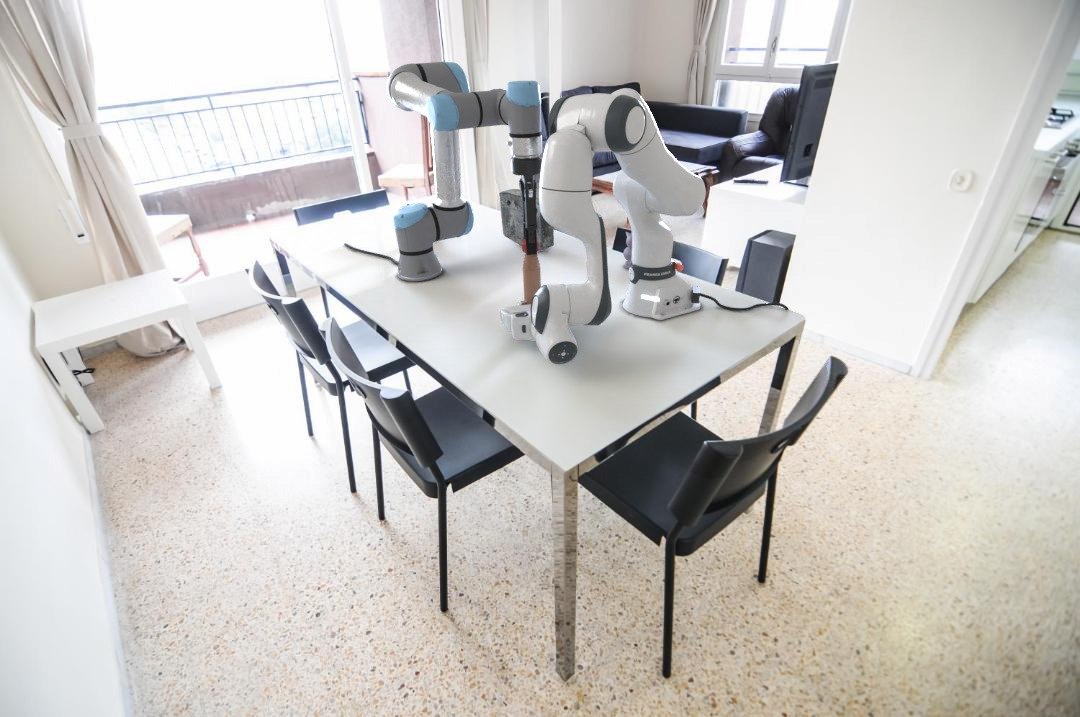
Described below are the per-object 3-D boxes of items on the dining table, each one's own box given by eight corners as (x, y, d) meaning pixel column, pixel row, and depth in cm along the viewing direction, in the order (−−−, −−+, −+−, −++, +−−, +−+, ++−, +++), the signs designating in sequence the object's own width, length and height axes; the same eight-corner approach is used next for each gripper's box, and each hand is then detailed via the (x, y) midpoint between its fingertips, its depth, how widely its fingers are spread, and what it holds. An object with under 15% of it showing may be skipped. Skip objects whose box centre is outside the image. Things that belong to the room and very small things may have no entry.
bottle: (545, 324, 140) (543, 242, 128) (532, 329, 138) (528, 247, 125) (535, 318, 143) (532, 238, 131) (522, 323, 141) (517, 242, 129)
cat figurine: (651, 266, 175) (654, 232, 168) (638, 272, 170) (641, 238, 163) (630, 260, 180) (633, 227, 173) (618, 267, 175) (619, 233, 169)
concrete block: (559, 252, 190) (558, 199, 179) (540, 257, 185) (538, 203, 175) (520, 236, 208) (517, 187, 198) (502, 240, 204) (498, 190, 194)
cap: (529, 246, 132) (528, 237, 131) (542, 249, 130) (541, 239, 128) (519, 251, 129) (518, 241, 128) (532, 254, 127) (532, 244, 125)
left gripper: (507, 150, 124) (513, 241, 136) (513, 163, 109) (519, 263, 122) (537, 148, 125) (540, 239, 137) (547, 161, 110) (549, 261, 122)
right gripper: (584, 306, 127) (567, 286, 138) (505, 318, 123) (495, 296, 134) (583, 328, 130) (567, 306, 142) (507, 340, 126) (497, 317, 138)
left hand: (530, 250), depth 129 cm, fingers open, 4 cm apart
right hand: (532, 301), depth 138 cm, fingers closed on bottle, 5 cm apart
